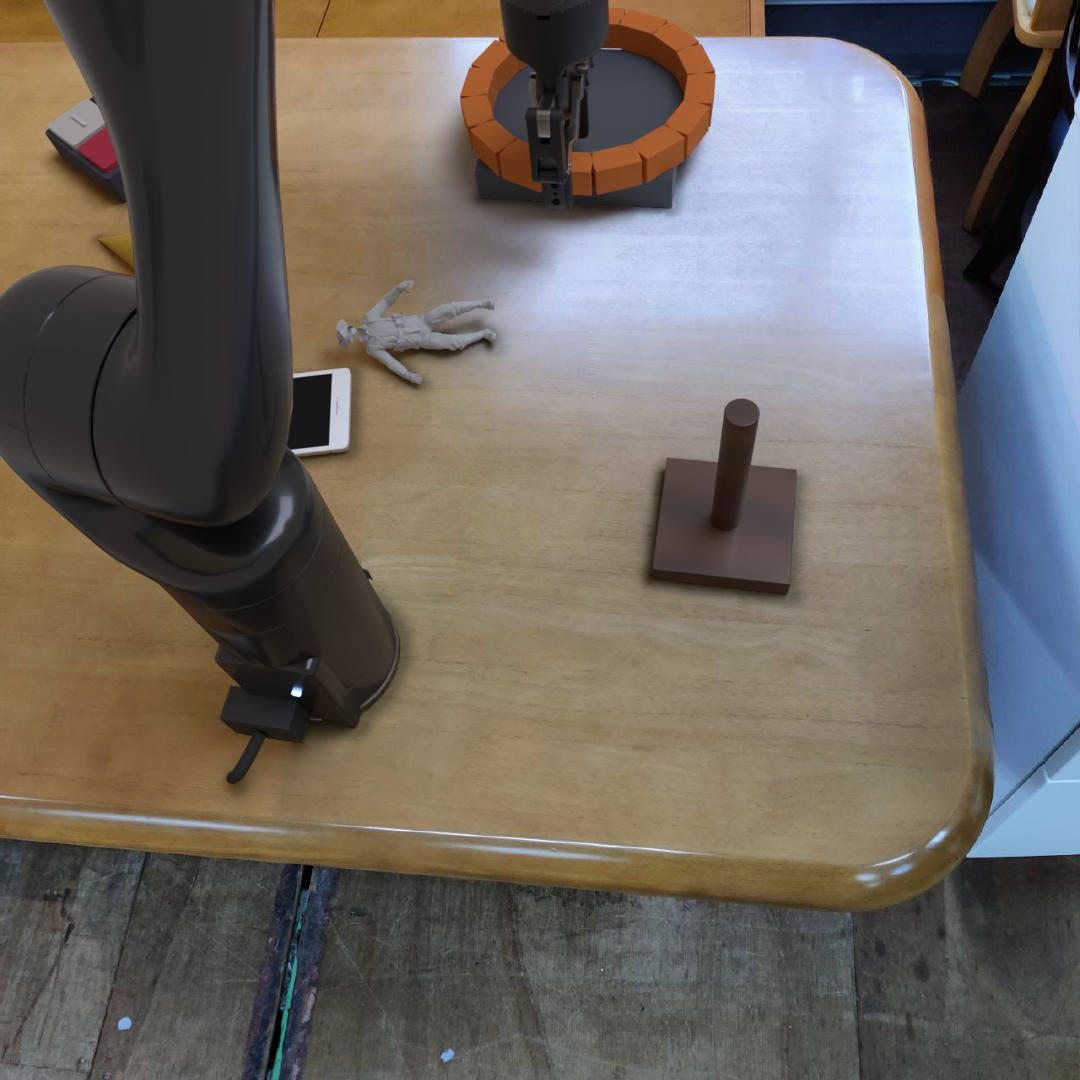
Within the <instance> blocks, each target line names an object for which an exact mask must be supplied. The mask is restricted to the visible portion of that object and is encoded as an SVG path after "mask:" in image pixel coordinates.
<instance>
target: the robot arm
mask: <svg viewBox="0 0 1080 1080" xmlns="http://www.w3.org/2000/svg"><path fill="white" fill-rule="evenodd" d="M42 3H43V4H44V6H45V8H46V10H47V11H48V13H49V15H50V17H51V19H52V21H53V23H54V25H55V26H56V29H57V30H58V32H59V34H60V36H61V38H62V40H63V41H64V43H65V45H66V47H67V49H68V50H69V52H70V55H71V56H72V58H73V60H74V63H76V65H77V68H78V69H79V72H80V74H81V76H82V78H83V79H84V81H85V84H86V86H87V87H88V89H89V92H90V93H91V97H92V96H93V98H94V100H95V102H96V104H97V106H98V108H99V110H100V113H101V115H102V117H103V120H104V122H105V125H106V128H107V130H108V133H109V136H110V138H111V141H112V144H113V148H114V151H115V155H116V158H117V162H118V165H119V169H120V172H121V177H122V182H123V187H124V192H125V197H126V201H125V202H126V209H127V214H128V221H129V229H130V233H131V237H132V247H133V258H134V268H133V269H134V276H133V275H130V274H125V273H119V272H115V271H111V270H107V269H102V268H98V267H94V266H87V265H78V264H77V265H76V264H64V265H54V266H50V267H45V268H43V269H40V270H36V271H34V272H31V273H29V274H27V275H25V276H23V277H21V278H20V279H18V280H16V281H15V282H13V283H12V284H11V285H10V286H8V288H7V289H5V290H4V291H3V292H2V293H1V294H0V457H1V459H3V461H4V462H5V463H6V464H7V465H8V467H9V468H10V469H11V470H12V471H13V472H14V473H15V475H16V476H18V477H19V478H20V479H21V480H22V481H23V483H24V484H26V485H27V486H28V487H29V488H30V489H31V490H32V491H33V492H34V493H36V495H37V496H39V497H40V498H41V499H42V500H43V501H44V502H46V503H47V505H48V506H50V507H51V508H52V509H54V510H55V511H56V512H57V513H58V514H59V515H60V516H62V517H63V518H64V519H65V520H66V521H67V522H69V524H71V525H72V526H73V527H75V529H77V531H79V532H80V533H81V534H82V535H84V536H85V537H86V538H87V539H88V540H90V542H92V543H93V544H94V545H95V546H97V547H98V548H99V549H100V550H101V551H102V552H104V553H106V554H107V555H108V556H109V557H111V558H112V559H114V560H115V561H117V562H118V563H120V564H121V565H123V566H125V567H126V568H128V569H130V570H132V571H134V572H136V573H137V574H140V575H142V576H143V577H145V578H147V579H149V580H151V581H152V582H154V583H156V584H157V585H159V586H160V587H161V588H162V589H163V590H164V591H165V592H166V593H167V594H168V595H169V596H170V597H171V598H172V599H173V600H174V601H175V602H176V603H177V604H178V605H179V606H180V607H181V608H182V609H183V610H184V611H185V612H186V613H187V614H188V615H189V616H190V617H191V618H192V619H193V620H194V621H195V622H196V624H197V625H199V626H200V627H201V628H202V629H203V630H204V631H205V632H206V633H207V634H208V635H209V637H211V638H212V639H213V640H214V641H215V642H216V643H217V644H218V647H217V649H216V652H215V655H214V662H215V664H216V665H217V666H218V667H219V668H221V669H222V671H224V672H225V673H226V674H227V675H228V676H229V677H230V678H231V679H232V680H233V681H234V682H235V683H236V684H237V685H230V686H229V689H228V692H227V694H226V697H225V701H224V704H223V706H222V709H221V713H220V715H219V718H218V720H219V721H221V722H222V724H224V725H225V726H226V727H228V728H229V729H230V730H231V731H232V732H234V733H235V734H236V735H242V736H249V737H250V739H249V741H248V743H247V744H246V746H245V748H244V750H243V752H242V754H241V755H240V757H239V759H238V761H237V763H236V764H235V766H234V767H233V769H232V770H230V771H229V772H228V773H226V777H225V779H226V782H227V783H228V784H229V785H236V784H237V783H239V782H240V781H242V780H243V779H244V778H245V776H246V775H247V774H248V772H249V770H250V769H251V767H252V765H253V764H254V762H255V760H256V758H257V756H258V754H259V752H260V751H261V748H262V746H263V745H264V743H265V740H266V739H268V740H275V741H281V742H288V743H294V744H301V745H303V744H304V742H305V739H306V736H307V732H308V729H309V725H310V723H315V724H329V725H337V726H343V727H350V728H355V727H357V726H358V725H359V723H360V719H361V716H362V714H363V712H364V711H365V710H366V709H368V708H369V707H370V706H372V705H373V704H374V703H375V702H376V701H377V700H378V699H379V698H380V697H381V696H382V695H383V694H384V692H385V691H386V690H387V689H388V687H389V686H390V684H391V683H392V680H393V679H394V677H395V674H396V672H397V670H398V666H399V662H400V656H401V639H400V638H401V637H400V633H399V631H398V628H397V625H396V622H395V621H394V619H393V617H392V615H391V614H390V612H389V611H388V609H387V608H386V607H385V605H383V603H382V601H381V599H380V597H379V595H378V594H377V592H376V590H375V588H374V587H373V585H372V583H371V581H372V582H373V581H374V578H373V576H372V575H371V573H370V571H369V569H368V570H367V569H365V568H363V566H362V565H361V564H360V562H359V560H358V558H357V557H356V554H355V553H354V551H353V549H352V548H351V546H350V544H349V542H348V541H347V538H346V537H345V535H344V534H343V532H342V530H341V527H340V526H339V524H338V523H337V521H336V519H335V517H334V516H333V514H332V511H331V510H330V508H329V506H328V504H327V503H326V501H325V499H324V497H323V496H322V494H321V492H320V491H319V489H318V486H317V484H316V483H315V481H314V479H313V478H312V476H311V474H310V472H309V471H308V469H307V468H306V466H305V464H304V463H303V462H302V461H301V458H300V457H297V456H296V455H295V453H294V452H292V451H291V450H290V449H289V448H288V447H287V446H286V445H287V441H288V435H289V428H290V422H291V414H292V402H293V374H294V358H293V357H294V354H293V353H294V352H293V335H292V322H291V308H290V294H289V282H288V270H287V269H288V268H287V261H286V260H287V258H286V246H285V235H284V233H285V232H284V224H283V223H284V221H283V210H282V197H281V183H280V165H279V164H280V163H279V147H278V118H277V117H278V116H277V115H278V114H277V60H276V59H277V46H276V45H277V43H276V41H277V39H276V38H277V37H276V36H277V35H276V32H277V31H276V0H42ZM499 6H500V14H501V21H502V30H503V35H504V37H505V43H506V46H507V48H508V49H509V51H510V52H511V54H512V55H513V56H514V57H515V58H517V59H518V60H520V61H521V62H523V63H525V64H527V65H528V66H530V67H531V68H532V69H533V70H534V71H535V72H536V73H534V72H531V74H530V84H529V94H530V97H531V98H532V107H528V108H527V112H526V113H525V120H526V123H527V133H528V142H529V152H530V161H531V171H532V172H531V177H532V180H533V183H543V191H544V200H545V202H544V206H545V207H546V208H547V209H548V210H551V211H570V210H572V208H573V204H574V203H573V187H572V174H571V170H572V163H571V157H572V143H573V142H574V141H575V140H577V139H584V138H586V137H587V136H588V133H589V112H588V94H589V89H591V73H592V68H593V67H594V61H593V59H592V56H593V55H595V54H596V53H597V52H598V51H599V50H600V49H603V48H602V47H603V45H604V44H605V42H606V40H607V38H608V34H609V8H610V4H609V0H499Z"/></svg>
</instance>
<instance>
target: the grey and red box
mask: <svg viewBox="0 0 1080 1080" xmlns="http://www.w3.org/2000/svg"><path fill="white" fill-rule="evenodd" d="M47 128H48V129H46V130H45V136H46V137H47V139H48V140H49V142H50V143H51V144H52V146H53V147H54V149H55V150H56V151H57V153H58V155H60V157H61V158H62V159H63V160H65V161H66V162H67V163H69V165H71V166H72V167H74V168H75V170H78V171H79V172H80V173H82V174H83V175H84V176H85V177H86V178H88V179H89V180H91V181H92V182H93V183H95V185H97V186H99V188H101V189H102V190H103V191H104V192H106V193H107V194H109V195H110V196H111V197H112V198H114V199H116V201H118V202H120V203H125V202H126V197H125V192H124V187H123V182H122V177H121V172H120V169H119V165H118V162H117V158H116V155H115V151H114V148H113V144H112V141H111V138H110V136H109V133H108V130H107V128H106V125H105V122H104V120H103V117H102V115H101V113H100V110H99V108H98V106H97V104H96V102H95V100H94V98H93V96H92V95H91V97H90V98H84V99H82V100H81V101H79V102H78V103H77V104H75V105H74V106H73V107H71V108H70V109H68V110H67V111H65V112H64V113H63V114H61V115H60V116H59V117H57V118H56V119H54V120H53V121H51V122H50V123H49V124H48V125H47Z"/></svg>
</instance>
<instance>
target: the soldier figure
mask: <svg viewBox="0 0 1080 1080" xmlns="http://www.w3.org/2000/svg"><path fill="white" fill-rule="evenodd" d="M414 284H415V282H414V280H404V281H402V282H400V283H399V284H397V285H395V286H394V287H393V288H392V289H391V290H389V291H388V292H387V293H386V294H385V295H383V297H381V299H380V300H379V301H378V302H377V303H376V304H375V305H374V306H373V307H371V308H370V309H369V310H368V311H367V312H366V313H364V315H363V318H362V324H361V325H360V326H358V327H357V325H355V326H354V327H353V324H347V323H346V322H345V319H344V318H341V319H340V320H339V321H338V322H337V324H336V328H335V329H336V331H335V332H336V334H335V337H336V340H337V342H338V346H339V348H340V349H345V350H347V349H348V347H349V345H351V344H353V343H354V340H355V335H356V333H357V340H358V342H360V343H362V344H364V348H365V350H366V353H367V354H368V355H370V356H371V357H373V358H374V359H376V360H377V361H379V363H380V364H382V365H384V366H386V367H387V368H388V369H389V370H390V371H391V372H393V373H395V374H396V375H397V376H400V377H401V378H403V379H404V380H408V381H409V382H411V383H414V384H419V385H421V384H422V382H423V378H422V374H419V373H412V372H410V371H409V369H407V368H406V367H405V366H404V365H402V363H401V362H400V361H399V360H397V359H396V358H395V357H393V356H392V355H391V354H390V353H389V352H388V351H387V350H388V349H389V350H390V349H392V350H393V352H403V353H404V351H405V350H409V349H414V350H420V349H426V350H438V351H440V350H441V351H442V350H445V349H448V350H451V351H456V350H458V349H459V350H463V349H465V347H466V346H468V345H470V344H472V343H474V342H477V341H480V340H482V339H483V338H484V339H485V340H488V341H490V342H492V343H495V342H496V339H497V333H496V331H492V329H491V328H484V329H482V330H481V329H480V330H478V331H476V332H468V333H462V334H461V333H457V334H456V333H453V334H449V333H442V332H438V331H435V330H436V329H437V327H439V326H441V325H443V324H445V323H446V322H448V321H449V320H453V319H455V318H456V317H457V316H460V315H462V314H465V313H469V312H472V311H473V310H475V309H484V310H489V311H494V310H495V300H494V299H481V300H462V301H451V302H450V303H441V304H440V305H438V306H436V307H434V308H433V309H431V310H429V311H427V312H425V313H423V314H421V315H419V316H418V314H411V315H403V312H394V313H391V317H386V316H385V317H384V315H385V314H386V313H387V311H388V310H389V308H391V307H392V306H394V305H395V304H396V302H397V301H398V299H399V298H400V296H401V294H402V293H403V292H404V293H406V294H411V291H410V290H407V289H408V288H413V286H414ZM356 327H357V328H356Z"/></svg>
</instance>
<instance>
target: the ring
mask: <svg viewBox="0 0 1080 1080" xmlns="http://www.w3.org/2000/svg"><path fill="white" fill-rule="evenodd" d="M601 49H623V50H626V51H629V52H633V53H636V54H639V55H643V56H646V57H649V58H652V59H654V60H655V61H656V62H658V63H659V64H660V65H662V66H663V67H664V68H666V69H667V70H668V71H670V72H671V73H673V74H674V75H675V76H676V78H677V80H678V82H679V84H680V86H681V88H682V90H683V92H684V100H683V102H682V103H681V104H680V106H679V107H678V108H677V109H676V111H675V112H674V113H673V114H672V116H671V117H670V118H669V119H668V121H667V122H666V123H665V124H664V125H663V126H661V127H659V128H657V129H655V130H654V131H652V132H650V133H648V134H647V135H645V136H643V137H641V138H640V139H638V140H636V141H634V142H633V143H630V144H626V145H622V146H617V147H613V148H609V149H604V150H600V151H596V152H572V157H571V163H572V170H571V174H572V187H573V195H592V191H593V186H594V189H595V191H596V194H597V195H599V194H604V193H608V192H612V191H616V190H621V189H625V188H629V187H634V186H638V185H642V179H643V180H644V181H646V182H647V183H648V182H649V181H651V180H653V179H655V178H656V177H658V176H660V175H661V174H663V173H665V172H667V171H668V170H670V169H672V168H673V167H675V166H677V165H678V166H679V165H680V164H682V163H684V159H688V158H689V157H690V155H691V154H692V153H693V151H694V150H695V149H696V148H697V146H698V145H699V144H700V143H701V141H703V139H704V137H705V136H706V135H707V133H708V132H709V129H710V127H711V124H712V118H713V109H714V102H715V94H716V93H715V92H716V77H717V74H716V69H715V67H714V66H713V63H712V61H711V60H710V57H709V56H708V53H707V51H706V50H705V48H704V46H703V44H702V43H700V40H698V39H697V38H696V37H694V36H693V35H692V34H690V33H689V32H687V31H686V30H685V29H683V28H681V27H680V26H679V25H677V24H676V23H675V22H673V21H669V22H668V19H667V18H663V17H660V16H657V15H654V14H653V15H652V14H649V13H646V12H642V11H639V10H635V9H632V8H629V9H628V10H627V11H626V8H625V7H609V34H608V38H607V40H606V42H605V44H604V45H603V47H602V48H601ZM470 66H471V67H468V70H467V72H466V76H465V79H464V82H463V86H462V88H461V92H460V93H459V94H460V95H459V102H460V108H461V112H462V119H463V123H464V128H465V131H466V134H467V137H468V141H469V145H470V148H471V151H473V153H474V155H475V156H476V157H477V158H478V157H479V158H480V159H481V160H482V161H483V162H484V163H485V164H486V165H487V166H488V167H489V168H490V169H491V170H492V171H494V172H495V173H496V174H497V175H498V176H500V175H502V178H503V179H505V180H508V181H510V182H513V183H516V184H518V185H521V186H524V187H527V188H529V189H532V190H535V191H538V192H540V193H541V192H542V191H543V183H533V180H532V177H531V172H532V171H531V161H530V152H529V143H527V142H525V141H522V140H519V139H516V138H515V137H514V136H513V135H512V134H511V133H510V132H508V131H507V130H506V129H505V128H504V127H503V126H502V125H501V124H499V123H498V122H497V121H496V120H495V119H494V115H493V108H494V105H495V102H496V98H497V95H498V93H499V92H500V91H501V90H502V89H503V87H504V86H505V85H506V84H507V83H508V82H509V81H510V80H511V79H512V78H513V77H514V76H515V75H516V74H517V72H518V71H520V70H522V69H524V68H526V67H528V65H527V64H525V63H523V62H521V61H520V60H518V59H517V58H515V57H514V56H513V55H512V54H511V52H510V51H509V49H508V48H507V46H506V43H505V37H504V34H502V35H500V36H498V40H496V39H494V40H493V41H492V42H491V43H490V44H489V45H488V46H487V47H486V48H485V49H484V50H483V51H482V52H481V53H480V55H478V57H476V59H474V61H473V62H472V63H471V65H470Z"/></svg>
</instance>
